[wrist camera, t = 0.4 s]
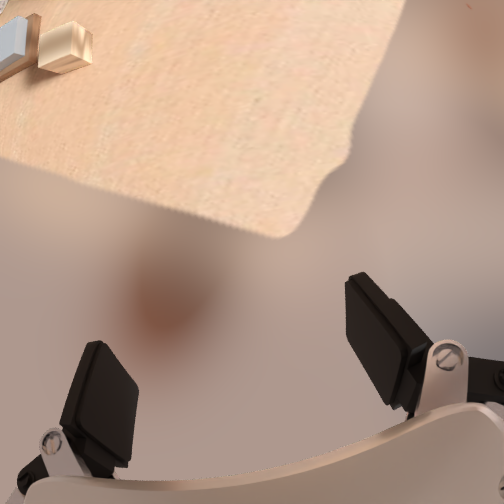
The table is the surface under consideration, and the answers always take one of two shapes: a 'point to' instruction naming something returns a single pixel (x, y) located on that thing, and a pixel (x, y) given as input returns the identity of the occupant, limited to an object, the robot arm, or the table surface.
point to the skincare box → (2, 5)
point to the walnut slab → (26, 49)
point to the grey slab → (12, 41)
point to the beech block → (65, 48)
